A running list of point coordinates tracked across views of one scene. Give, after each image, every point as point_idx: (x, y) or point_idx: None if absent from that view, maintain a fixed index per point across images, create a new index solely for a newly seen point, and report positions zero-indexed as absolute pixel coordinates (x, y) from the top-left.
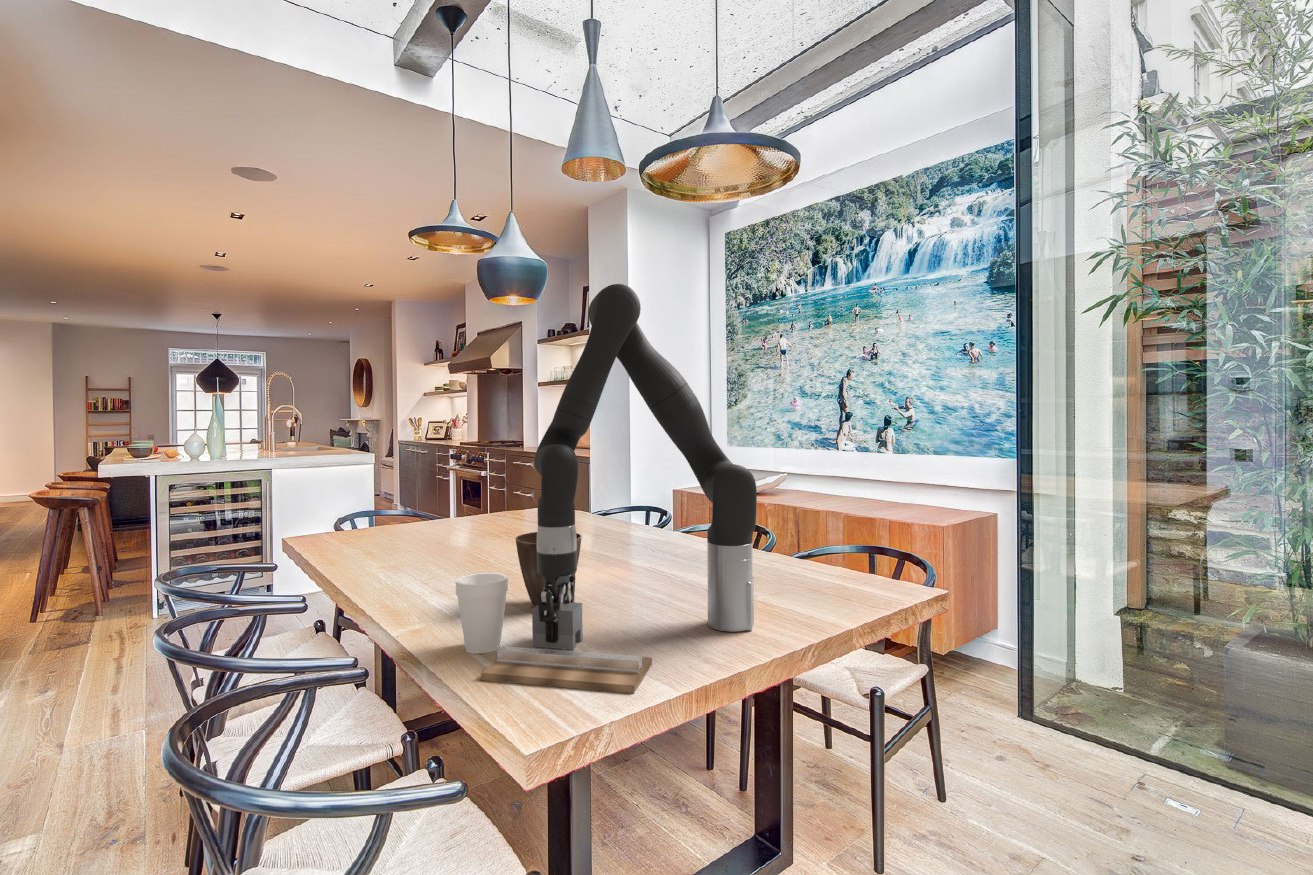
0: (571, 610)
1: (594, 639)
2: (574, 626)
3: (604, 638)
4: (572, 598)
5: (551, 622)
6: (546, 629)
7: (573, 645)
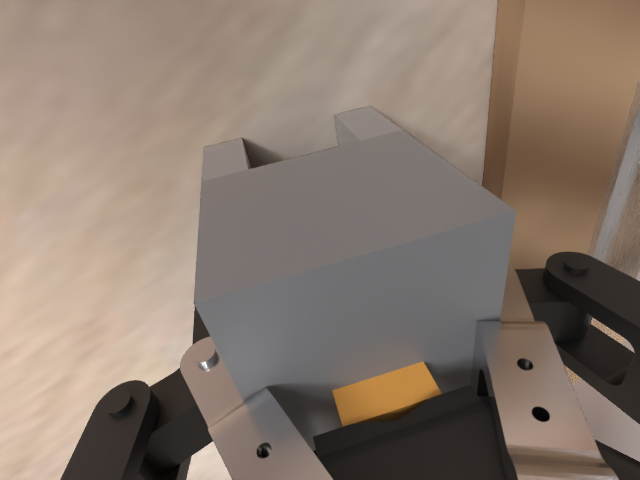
0: (496, 231)
1: (150, 79)
2: (390, 157)
3: (83, 14)
4: (127, 447)
5: (520, 272)
6: None
7: (370, 112)
